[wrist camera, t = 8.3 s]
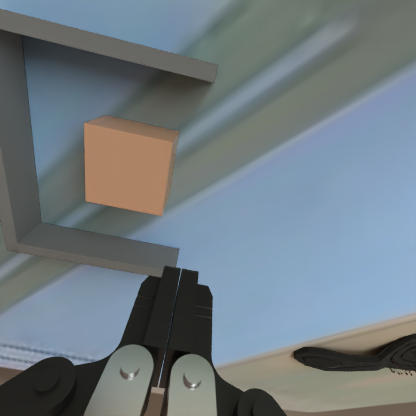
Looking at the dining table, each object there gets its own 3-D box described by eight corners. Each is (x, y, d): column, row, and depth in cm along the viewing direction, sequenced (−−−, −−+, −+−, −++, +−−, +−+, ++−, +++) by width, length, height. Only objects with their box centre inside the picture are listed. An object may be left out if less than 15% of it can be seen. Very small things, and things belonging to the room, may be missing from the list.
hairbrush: (301, 352, 30) (534, 357, 28) (294, 325, 33) (502, 327, 31) (295, 389, 34) (498, 397, 31) (289, 361, 37) (473, 366, 35)
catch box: (4, 12, 17) (-43, -3, 14) (217, 67, 18) (218, 64, 15) (32, 228, 25) (6, 250, 22) (177, 256, 27) (173, 279, 23)
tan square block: (106, 114, 20) (84, 122, 17) (179, 130, 21) (172, 142, 17) (105, 182, 23) (85, 201, 19) (169, 194, 23) (161, 215, 20)
